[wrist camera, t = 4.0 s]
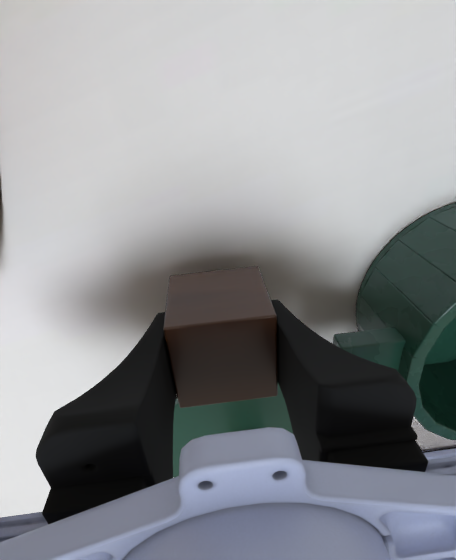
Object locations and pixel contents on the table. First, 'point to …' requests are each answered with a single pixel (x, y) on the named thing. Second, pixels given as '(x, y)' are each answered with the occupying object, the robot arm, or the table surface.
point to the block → (221, 337)
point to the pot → (414, 316)
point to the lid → (226, 420)
